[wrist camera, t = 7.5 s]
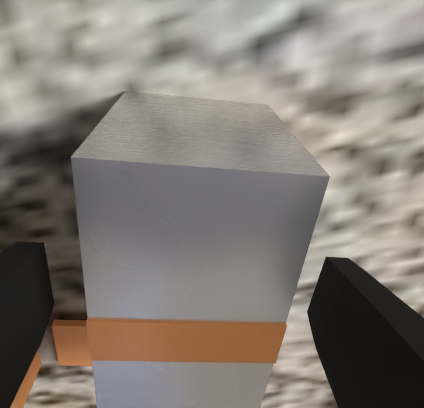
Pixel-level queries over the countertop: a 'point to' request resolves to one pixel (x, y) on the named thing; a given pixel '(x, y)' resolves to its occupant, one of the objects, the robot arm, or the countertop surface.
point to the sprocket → (27, 383)
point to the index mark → (71, 342)
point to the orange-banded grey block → (190, 248)
